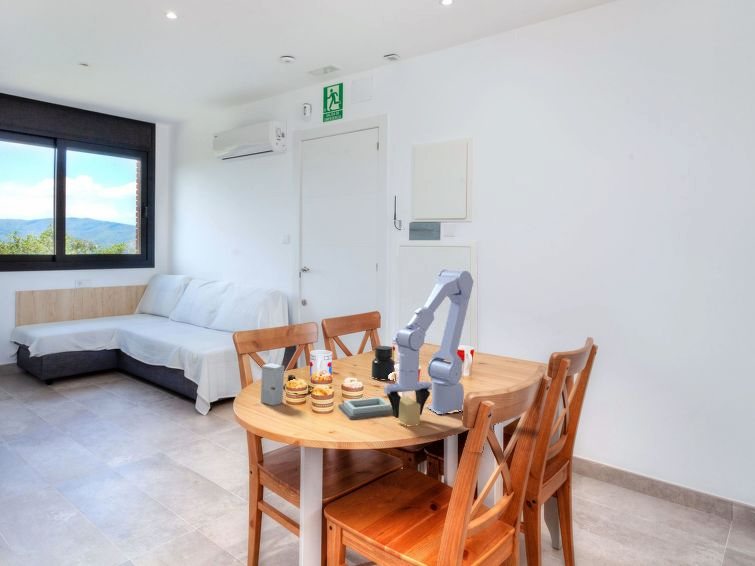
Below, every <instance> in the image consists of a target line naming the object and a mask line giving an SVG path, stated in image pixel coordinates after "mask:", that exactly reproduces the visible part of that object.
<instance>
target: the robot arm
mask: <svg viewBox="0 0 755 566" xmlns="http://www.w3.org/2000/svg"><path fill="white" fill-rule="evenodd" d="M473 285H474V280H473V276H472V274H471V273H470V271H468V270H448V269H442V270H440V271H439V273H438V275H437V277H436V278H435V286H434V288H433V289H432V291H431V293H430V295H429V296H428V299H427V301H426V302H425V304H424V305H423V307H419V308H417V309H416V310H415V311H414V314H413V315H412V317H411V319H410V320H409V322H408V323H407V325H406V326H405V327H403V328H401V329H399V330H398V332H397V333H396V337H394V338H395V344H396V346H397V350H398V353H399V356H398V357H399V358H398V359H399V360H398V382H397V383H393V384H388V385H383V390H384V391H383V392H384V394H386V396H387V398H388V400H389V404H390V405H391V407H392V410H393V414H392V416H393V417H394V418H395V419H397V418H398V417H399V404H400V399H401V397H402V396H400V395H399V393H405V392H415V402H417V403H419V404H420V416H422V413H423V411H424V410H423V409H424V408H425V404H426V402H427V400H428V398H429V397H430V395H431V404H428V405H426V408H427V407H428V408H427V409H429V410H430V409H431V410H430V411H431V412H433V411H434V412H433V413H435V412H436V413H437V414H436V413H435V414H436V415H438V414H442V415H444V414H443V413H448V412H451V411H454V410H458V411H459V410H461V412H460V413H463V412H462V405H463V406H464V403H463V400H465V389H464V386H463V384H462V382H461V378H462V377H463V376H462V375H463V369H462V367H463V360H462V359H461V357H460V356H459V354H458V350H459V346H460V342H461V341H460V340H461V337H462V332H463V329H464V328H463V327H464V323H465V320H466V315H467V311H468V307H469V302H470V299H471V295H472V290H473V287H474V286H473ZM447 297H448V298H449V300H450V305H449V309H448V315H447V317H446V321H445V322H446V323H445V327H444V331H443V336H442V340H441V343H440V347H439V348H440V349H438V350H436V351H435V352H434V353H433V354H432V356H431V359H430V361H429V363H428V366H427V374H428V377H430V381H431V382H430V381H419V376H420V375H419V371H420V370H419V369H420V367H419V366H420V349H421V348H422V347H423V346H424V344H425V337H426V334H427V331H428V330H429V328H430V326H431V325H432V324H433V321H434V320H435V315H434V313H435V312H436V311H437V309H438V308H439V307H440V306H441V304H442V303H443V301H444V300H445V298H447ZM430 391H432V393H431V392H430Z"/></svg>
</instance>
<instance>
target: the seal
mask: <svg viewBox="0 0 755 566" xmlns="http://www.w3.org/2000/svg"><path fill="white" fill-rule="evenodd" d="M293 379H296V380H297V378H296V375H294V374H288V376H287V382H288V381H290V380H293ZM287 382H286V383H287ZM286 383H284V384H283V391H285V386H286ZM311 387H312V385H310V384H308V393H309V394H310V390H311Z"/></svg>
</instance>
